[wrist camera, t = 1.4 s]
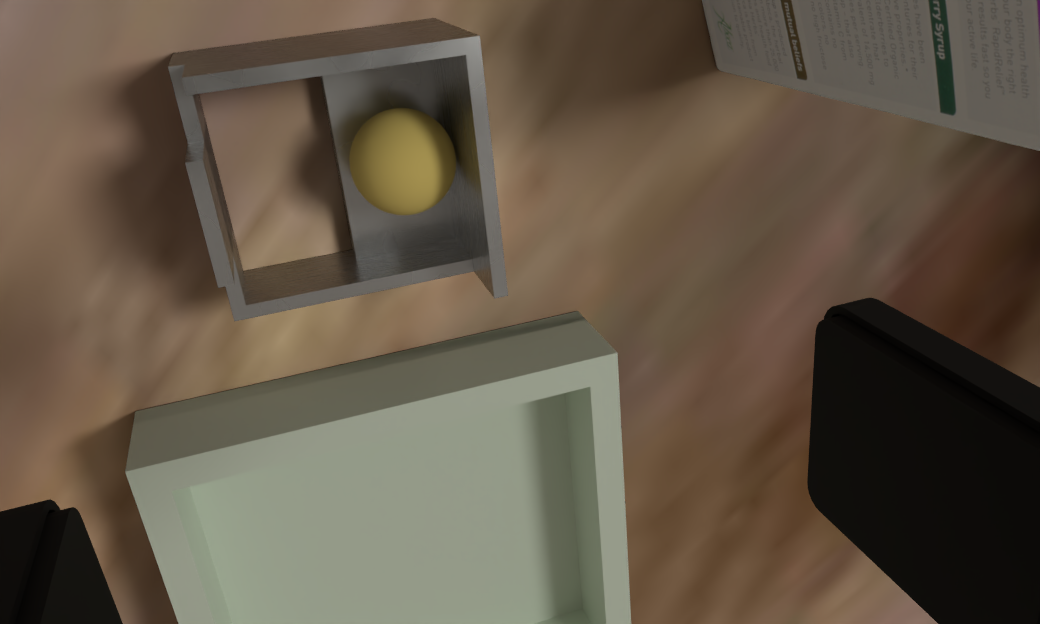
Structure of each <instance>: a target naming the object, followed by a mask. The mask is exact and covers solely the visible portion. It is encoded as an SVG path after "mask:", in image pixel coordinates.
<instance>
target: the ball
mask: <svg viewBox="0 0 1040 624" xmlns="http://www.w3.org/2000/svg"><path fill="white" fill-rule="evenodd" d="M349 164H350V171H351V175H352V179H353V181H354V184H355V185H356V187H357V189H358V191H359V192H360V193H361V194H362V196H363V197H364V198H365V199H366V200H367V201H368V202H369V203H370V204H372V205H373V206H375V207H376V208H378V209H380V210H382V211H384V212H387V213H391V214H395V215H413V214H417V213H421V212H424V211H426V210H428V209H430V208H431V207H433V206H435V205H436V204H437V203H438V202H439V201H440V200H441V199H442V198H443V197H444V196H445V195H446V193H447V192H448V190H449V189H450V187H451V185H452V182H453V179H454V176H455V171H456V155H455V150H454V146H453V143H452V141H451V139H450V137H449V135H448V134H447V132H446V131H445V129H444V128H443V127H442V126H441V124H440V123H438V122H437V121H436V120H435V119H434V118H432V117H430V116H429V115H427V114H425V113H423V112H421V111H418V110H414V109H409V108H394V109H389V110H385V111H383V112H380V113H378V114H376V115H374V116H373V117H371V118H370V119H369V120H367V121H366V122H365V123H364V124H363V125H362V127H361V128H360V129H359V131H358V132H357V134H356V136H355V138H354V140H353V142H352V146H351V149H350V156H349Z"/></svg>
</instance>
